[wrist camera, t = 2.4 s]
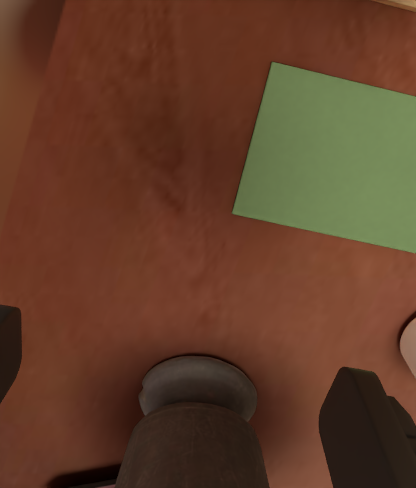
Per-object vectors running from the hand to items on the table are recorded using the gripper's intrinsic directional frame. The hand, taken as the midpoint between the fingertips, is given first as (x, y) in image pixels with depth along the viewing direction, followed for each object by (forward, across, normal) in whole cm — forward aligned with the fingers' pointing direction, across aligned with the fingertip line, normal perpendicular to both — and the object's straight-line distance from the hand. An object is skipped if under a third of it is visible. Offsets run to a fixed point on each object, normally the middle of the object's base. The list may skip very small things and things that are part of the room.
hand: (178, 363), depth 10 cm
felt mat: (+24, -13, -1) cm, 27 cm away
